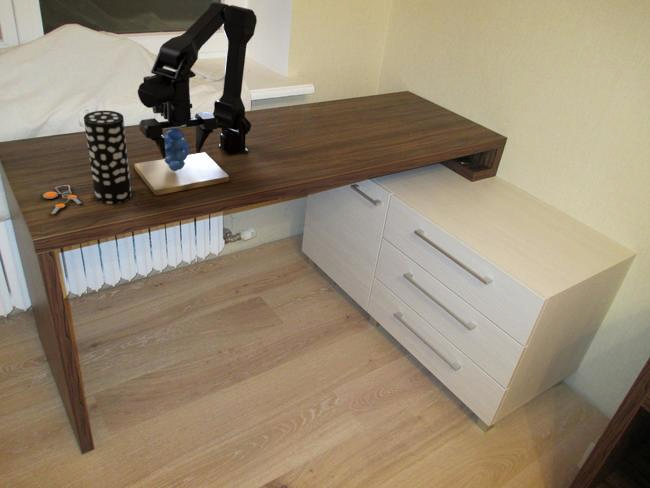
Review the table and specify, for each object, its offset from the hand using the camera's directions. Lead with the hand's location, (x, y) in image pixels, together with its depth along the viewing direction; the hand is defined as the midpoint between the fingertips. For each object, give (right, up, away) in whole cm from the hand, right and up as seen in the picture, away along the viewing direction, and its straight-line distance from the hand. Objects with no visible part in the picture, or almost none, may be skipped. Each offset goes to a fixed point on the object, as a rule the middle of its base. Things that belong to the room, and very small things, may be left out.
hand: (180, 155), depth 142 cm
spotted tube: (-14, -11, -9) cm, 20 cm away
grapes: (-2, -4, +2) cm, 4 cm away
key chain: (-24, -13, -14) cm, 31 cm away
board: (-1, -5, +3) cm, 6 cm away
